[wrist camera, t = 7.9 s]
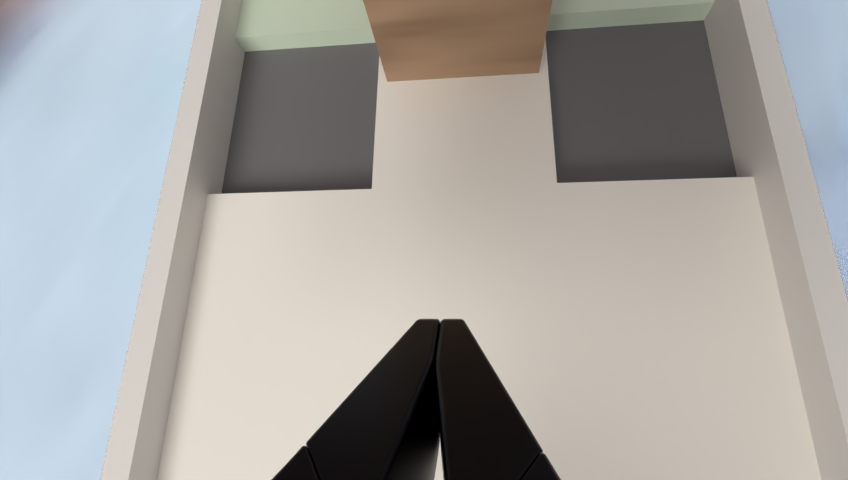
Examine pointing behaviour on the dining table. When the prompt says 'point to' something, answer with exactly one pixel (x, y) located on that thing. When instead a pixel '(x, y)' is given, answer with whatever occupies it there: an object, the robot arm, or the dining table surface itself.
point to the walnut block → (458, 37)
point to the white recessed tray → (493, 245)
